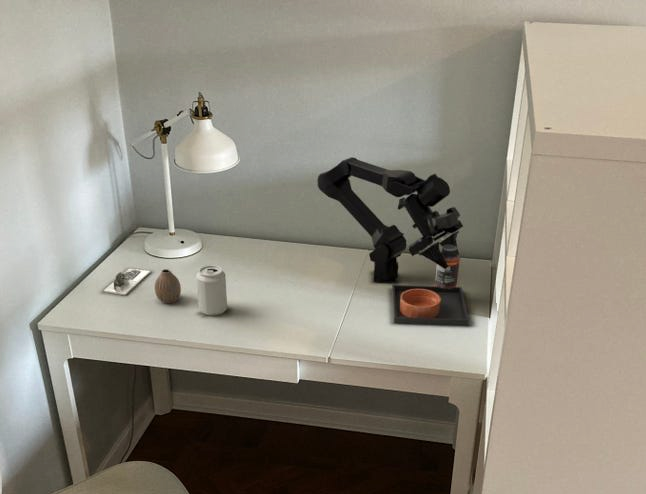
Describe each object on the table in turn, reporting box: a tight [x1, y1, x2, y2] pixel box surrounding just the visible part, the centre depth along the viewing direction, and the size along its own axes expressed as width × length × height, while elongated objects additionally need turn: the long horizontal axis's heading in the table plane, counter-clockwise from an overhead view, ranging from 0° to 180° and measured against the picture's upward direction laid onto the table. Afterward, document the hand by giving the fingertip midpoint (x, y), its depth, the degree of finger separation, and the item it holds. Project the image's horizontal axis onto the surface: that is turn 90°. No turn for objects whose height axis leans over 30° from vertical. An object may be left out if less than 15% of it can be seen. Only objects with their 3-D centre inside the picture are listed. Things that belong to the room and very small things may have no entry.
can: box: [196, 264, 228, 317], centre depth 208 cm, size 8×8×12 cm
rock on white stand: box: [103, 268, 151, 296], centre depth 223 cm, size 15×7×4 cm, turn 165°
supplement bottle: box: [434, 244, 461, 289], centre depth 214 cm, size 6×6×11 cm
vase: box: [154, 268, 182, 304], centre depth 213 cm, size 7×7×9 cm
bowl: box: [400, 289, 441, 318], centre depth 212 cm, size 11×11×4 cm
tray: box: [391, 284, 470, 327], centre depth 215 cm, size 19×19×2 cm
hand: (452, 264), depth 212 cm, fingers closed on supplement bottle, 6 cm apart
